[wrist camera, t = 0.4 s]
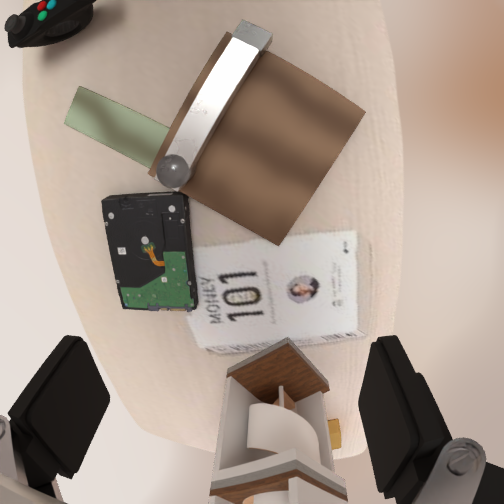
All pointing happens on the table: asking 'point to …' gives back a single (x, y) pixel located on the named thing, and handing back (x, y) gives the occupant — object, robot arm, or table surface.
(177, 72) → the table surface
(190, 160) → the folding leg
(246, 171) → the brown flat wooden board
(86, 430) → the robot arm
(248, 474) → the gray dispenser tower
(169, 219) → the disk drive
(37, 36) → the controller
